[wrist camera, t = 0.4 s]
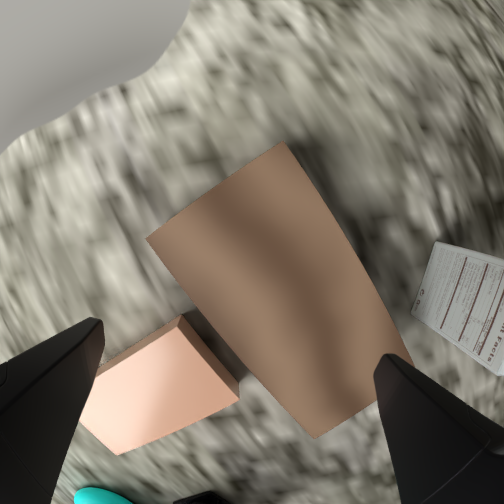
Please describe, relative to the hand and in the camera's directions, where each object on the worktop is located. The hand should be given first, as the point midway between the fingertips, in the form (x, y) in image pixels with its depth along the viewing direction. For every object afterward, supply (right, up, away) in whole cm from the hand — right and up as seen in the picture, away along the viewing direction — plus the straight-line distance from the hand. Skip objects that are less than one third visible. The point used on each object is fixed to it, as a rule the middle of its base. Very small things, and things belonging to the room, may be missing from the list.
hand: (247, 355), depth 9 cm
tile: (-10, -9, +17) cm, 21 cm away
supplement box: (+19, 0, +17) cm, 25 cm away
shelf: (+3, 0, +16) cm, 16 cm away
